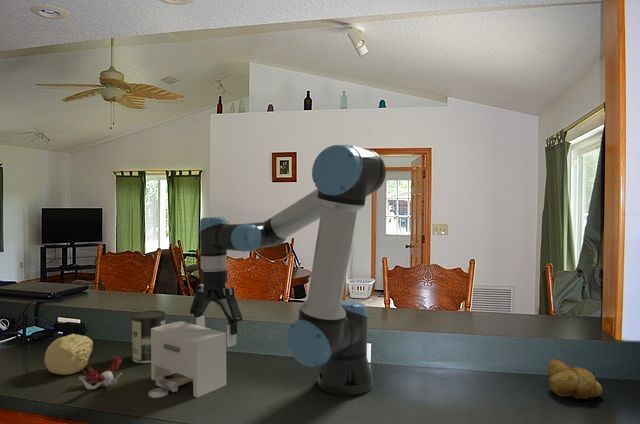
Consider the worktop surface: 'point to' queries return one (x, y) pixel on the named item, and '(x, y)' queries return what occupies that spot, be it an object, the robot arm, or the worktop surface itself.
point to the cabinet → (190, 355)
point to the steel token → (158, 393)
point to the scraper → (172, 382)
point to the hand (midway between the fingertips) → (215, 341)
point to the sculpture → (68, 354)
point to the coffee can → (144, 333)
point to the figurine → (104, 377)
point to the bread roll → (572, 381)
